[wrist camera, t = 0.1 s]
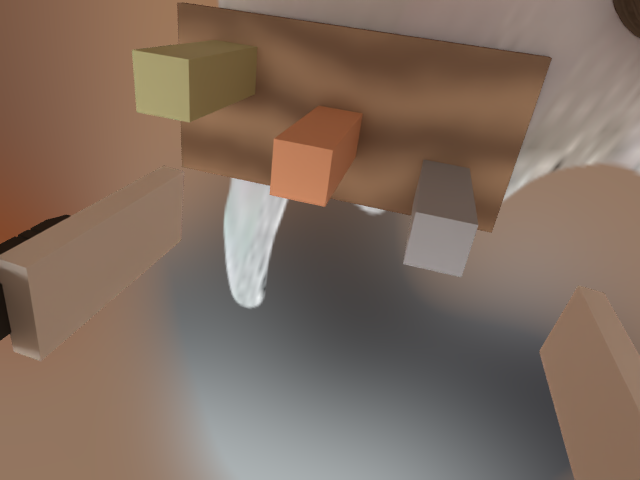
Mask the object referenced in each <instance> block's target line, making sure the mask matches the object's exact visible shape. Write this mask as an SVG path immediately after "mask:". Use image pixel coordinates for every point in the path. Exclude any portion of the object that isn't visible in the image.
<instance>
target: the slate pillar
mask: <svg viewBox="0 0 640 480" xmlns="http://www.w3.org/2000/svg"><path fill="white" fill-rule="evenodd" d="M477 228H478V219H477V213H476V206H475V200H474V194H473V187H472V181H471V174H470V168H466V167H460V166H455V165H450V164H445V163H439V162H434V161H429V160H423V164H422V168H421V172H420V176H419V181H418V185H417V189H416V193H415V197H414V202H413V207H412V213H411V219H410V225H409V231H408V237H407V243H406V249H405V255H404V261H403V264H406V265H410V266H415V267H419V268H423V269H427V270H432V271H436V272H441V273H445V274H449V275H454V276H458V277H462V274H463V271H464V268H465V265H466V262H467V258H468V256H469V252H470V249H471V246H472V243H473V240H474V237H475V234H476V230H477Z"/></svg>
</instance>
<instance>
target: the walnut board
mask: <svg viewBox="0 0 640 480" xmlns="http://www.w3.org/2000/svg"><path fill="white" fill-rule="evenodd" d="M177 6H178V39H179V44H185V43H193V42H201V41H210V40H218V41H225V42H231V43H237V44H243V45H249V46H256V47H257V65H256V86H255V94H254V95H252V96H250V97H247V98H245V99H243V100H241V101H238V102H236V103H234V104H231V105H229V106H227V107H224V108H222V109H220V110H217V111H215V112H213V113H210V114H208V115H206V116H204V117H201V118H199V119H197V120H194V121H192V122H185V121H181V145H182V167H184V168H189V169H194V170H199V171H204V172H208V173H213V174H218V175H222V176H227V177H232V178H236V179H241V180H246V181H250V182H255V183H260V184H265V185H269V186H270V184H271V170H272V157H273V143H274V138H275V137H277V136H278V135H280V134H281V133H282V132H284V131H285V130H286V129H288V128H289V127H290V126H292V125H293V124H294V123H296V122H297V121H298V120H300V119H301V118H303V117H304V116H305V115H307V114H308V113H309V112H311V111H312V110H313V109H315V108H316V107H317V106H324V107H329V108H335V109H341V110H346V111H352V112H357V113H363V115H362V121H361V127H360V133H359V139H358V146H357V152H356V157H355V159H354V161H353V162H352V164H351V166H350V167H349V169H348V170H347V172H346V174H345V175H344V177H343V179H342V180H341V182H340V183H339V185H338V187H337V188H336V190H335V191H334V193H333V195H332V196H331V199H336V200H340V201H345V202H350V203H354V204H359V205H364V206H368V207H373V208H378V209H383V210H387V211H392V212H397V213H402V214H406V215H411V213H412V207H413V202H414V197H415V193H416V189H417V185H418V181H419V176H420V172H421V168H422V164H423V160H429V161H434V162H439V163H445V164H450V165H455V166H460V167H466V168H470V174H471V181H472V187H473V194H474V200H475V206H476V213H477V219H478V228H477V230H482V231H487V232H492V230H493V227H494V224H495V221H496V218H497V215H498V213H499V210H500V207H501V204H502V201H503V198H504V195H505V192H506V189H507V187H508V184H509V181H510V178H511V175H512V172H513V169H514V166H515V163H516V160H517V158H518V155H519V152H520V149H521V146H522V143H523V140H524V137H525V134H526V131H527V129H528V126H529V123H530V120H531V117H532V114H533V111H534V108H535V105H536V103H537V100H538V97H539V94H540V91H541V88H542V85H543V82H544V79H545V76H546V74H547V71H548V68H549V65H550V62H551V59H552V58H550V57H547V56H540V55H533V54H527V53H520V52H513V51H506V50H500V49H493V48H486V47H479V46H473V45H466V44H459V43H452V42H446V41H439V40H432V39H425V38H419V37H412V36H405V35H398V34H392V33H385V32H378V31H371V30H365V29H358V28H351V27H344V26H338V25H331V24H324V23H317V22H311V21H304V20H297V19H290V18H284V17H277V16H270V15H263V14H257V13H250V12H243V11H236V10H230V9H223V8H216V7H209V6H202V5H196V4H189V3H178V5H177Z"/></svg>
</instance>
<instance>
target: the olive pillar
mask: <svg viewBox="0 0 640 480" xmlns="http://www.w3.org/2000/svg"><path fill="white" fill-rule="evenodd" d="M132 58H133V71H134V84H135V97H136V109H137V112H139V113H144V114H149V115H154V116H160V117H165V118H170V119H175V120H180V121H185V122H192V121H194V120H197V119H199V118H201V117H204V116H206V115H208V114H210V113H213V112H215V111H217V110H220V109H222V108H224V107H227V106H229V105H231V104H234V103H236V102H238V101H241V100H243V99H245V98H247V97H250V96H252V95H254V94H255V86H256V65H257V47H256V46H249V45H243V44H237V43H231V42H225V41H218V40H210V41H201V42H193V43H185V44H177V45H168V46H160V47H152V48H143V49H136V50H132Z"/></svg>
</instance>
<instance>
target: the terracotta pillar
mask: <svg viewBox="0 0 640 480" xmlns="http://www.w3.org/2000/svg"><path fill="white" fill-rule="evenodd" d="M362 115H363V113H357V112H352V111H346V110H341V109H335V108H329V107H324V106H317V107H316V108H315V109H313V110H312V111H311V112H309V113H308V114H307V115H305V116H304V117H303V118H301V119H300V120H298V121H297V122H296V123H294V124H293V125H292V126H290V127H289V128H288V129H286V130H285V131H284V132H282V133H281V134H280V135H278V136H277V137H275V138H274V143H273V157H272V170H271V184H270V195H273V196H277V197H282V198H287V199H292V200H296V201H301V202H305V203H311V204H314V205H319V206H324V207H325V206H326V204H327V203H328V201H329V199H330V198H331V196H332V195H333V193H334V191H335V190H336V188H337V187H338V185H339V183H340V182H341V180H342V179H343V177H344V175H345V174H346V172H347V170H348V169H349V167H350V166H351V164H352V162H353V161H354V159H355V157H356V152H357V146H358V139H359V133H360V127H361V121H362Z"/></svg>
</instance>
